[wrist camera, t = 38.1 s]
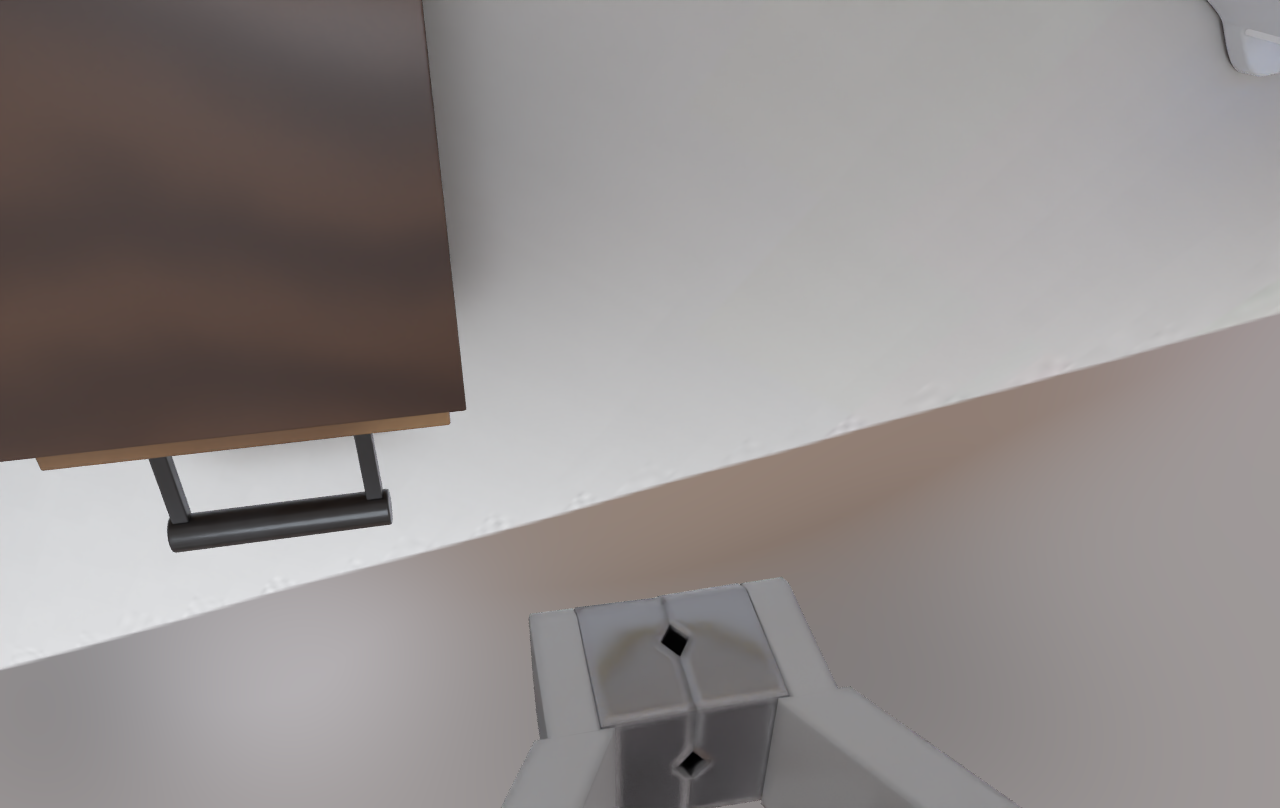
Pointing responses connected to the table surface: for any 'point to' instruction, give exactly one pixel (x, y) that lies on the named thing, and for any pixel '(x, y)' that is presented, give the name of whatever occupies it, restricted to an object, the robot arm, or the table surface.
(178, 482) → the drawer
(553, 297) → the table surface
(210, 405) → the cabinet
